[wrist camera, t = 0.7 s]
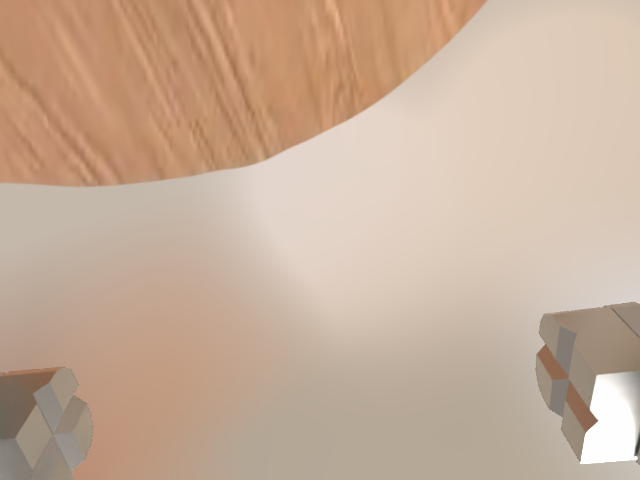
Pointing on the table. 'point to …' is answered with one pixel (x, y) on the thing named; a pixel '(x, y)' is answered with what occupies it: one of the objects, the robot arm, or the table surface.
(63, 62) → the table surface
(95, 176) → the table surface
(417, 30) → the table surface
